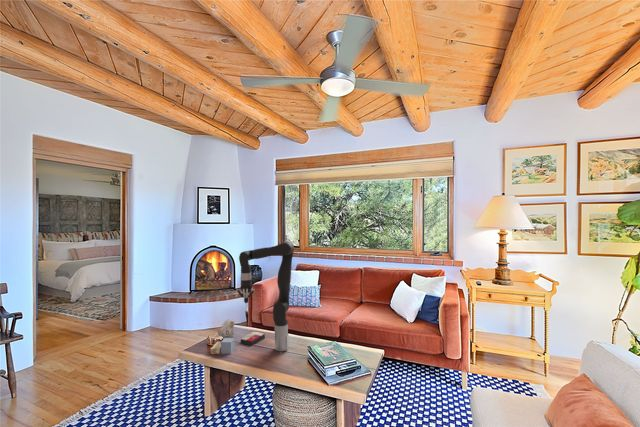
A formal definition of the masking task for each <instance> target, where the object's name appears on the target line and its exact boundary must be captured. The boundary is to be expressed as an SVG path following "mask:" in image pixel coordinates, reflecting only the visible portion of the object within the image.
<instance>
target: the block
mask: <svg viewBox="0 0 640 427" xmlns="http://www.w3.org/2000/svg"><path fill="white" fill-rule="evenodd" d="M220 342H221V353H220V355H232V353H233V352H234V351H235V337H231V338H224V339H223V340H220Z"/></svg>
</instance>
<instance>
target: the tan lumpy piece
mask: <svg viewBox="0 0 640 427" xmlns="http://www.w3.org/2000/svg"><path fill="white" fill-rule="evenodd" d="M210 354H211V355H221V341H216V343H214V345H212V347H210Z"/></svg>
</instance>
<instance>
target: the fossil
mask: <svg viewBox="0 0 640 427" xmlns="http://www.w3.org/2000/svg"><path fill="white" fill-rule="evenodd" d="M217 334H218V335H219V336H222V337H223V339H224V338H233V336H234V335H235V320H234V319H227V320H225V322H224V323H222V325H221V327H220V328H219V330H218V331H217ZM218 335H217V336H218Z"/></svg>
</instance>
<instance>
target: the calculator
mask: <svg viewBox="0 0 640 427" xmlns="http://www.w3.org/2000/svg"><path fill="white" fill-rule="evenodd" d="M265 337H266V335H265V333H262V332H256V331H252V332H251V333H248V334H247V335H245V336H243V337H242V338H241V339H240V344H242V345H247V346H254V345H256V344H257V343H260V342H261V341H263V340H265V339H266V338H265Z"/></svg>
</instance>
